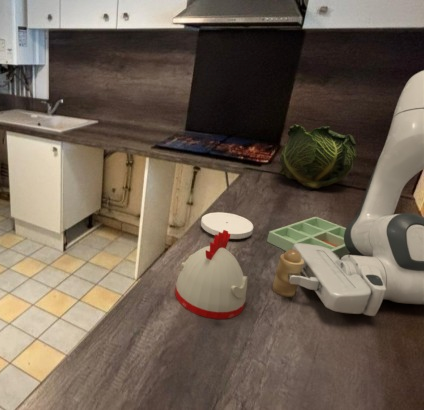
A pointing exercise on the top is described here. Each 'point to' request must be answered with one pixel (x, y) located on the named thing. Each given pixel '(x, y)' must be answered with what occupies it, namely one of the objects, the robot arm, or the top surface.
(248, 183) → the top surface
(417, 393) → the top surface
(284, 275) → the beige toy figure
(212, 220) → the plastic lid
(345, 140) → the cabbage
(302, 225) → the grid
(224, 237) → the kitchen timer
